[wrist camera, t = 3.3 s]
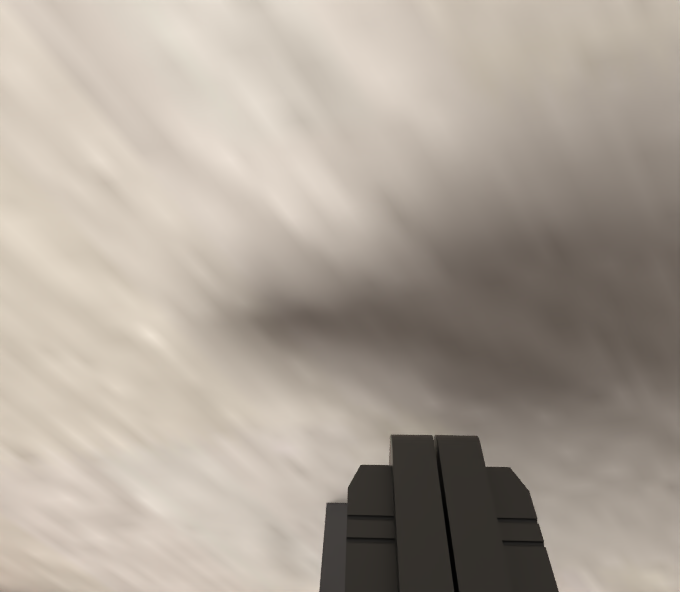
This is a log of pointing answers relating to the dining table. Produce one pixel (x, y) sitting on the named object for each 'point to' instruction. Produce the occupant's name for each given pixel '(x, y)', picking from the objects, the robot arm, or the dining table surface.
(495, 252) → the dining table surface
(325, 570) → the yellow and black block
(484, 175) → the dining table surface
